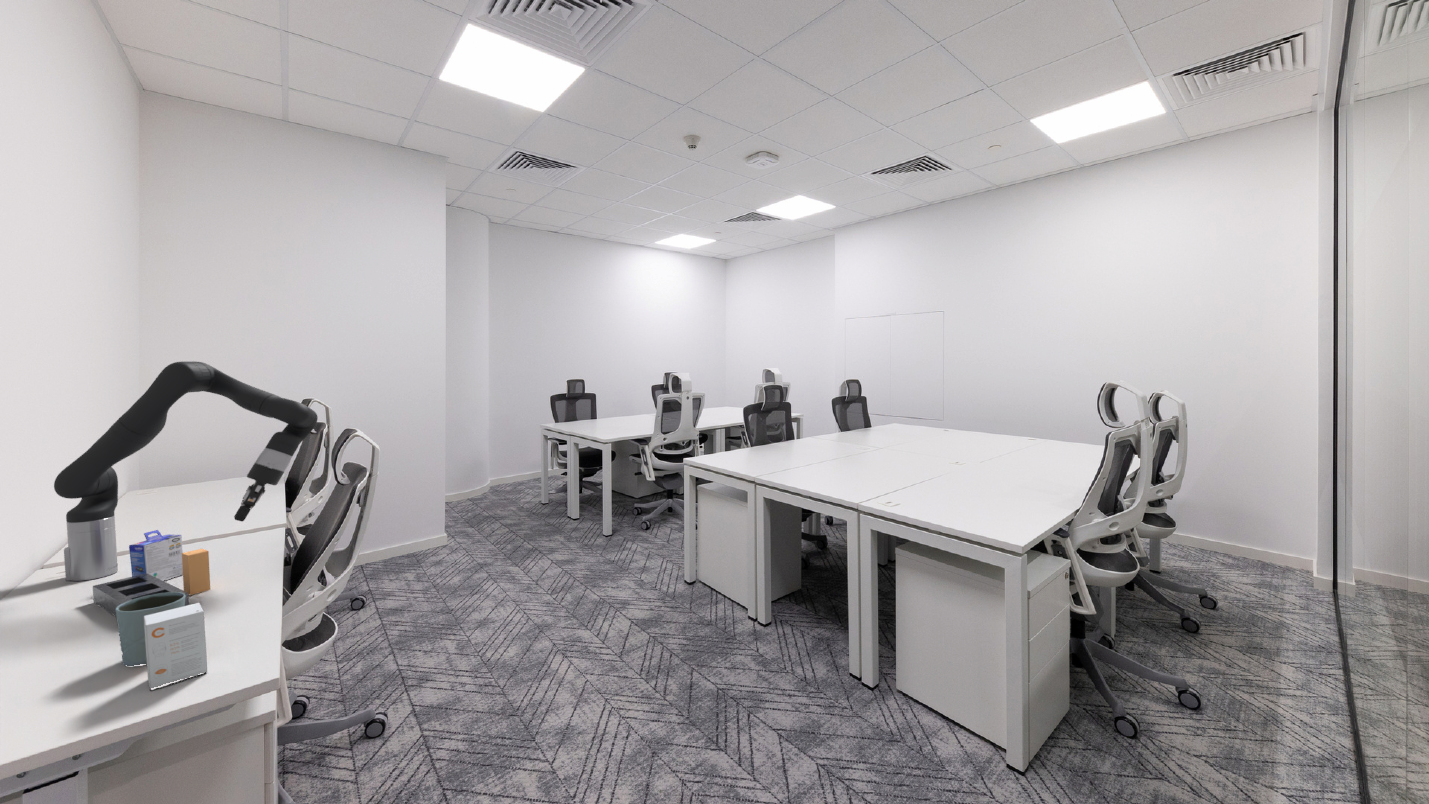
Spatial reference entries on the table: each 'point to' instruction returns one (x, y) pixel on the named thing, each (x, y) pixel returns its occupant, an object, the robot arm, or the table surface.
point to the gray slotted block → (130, 591)
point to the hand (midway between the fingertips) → (238, 519)
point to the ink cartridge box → (157, 556)
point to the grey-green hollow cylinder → (141, 622)
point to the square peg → (196, 571)
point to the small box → (175, 644)
